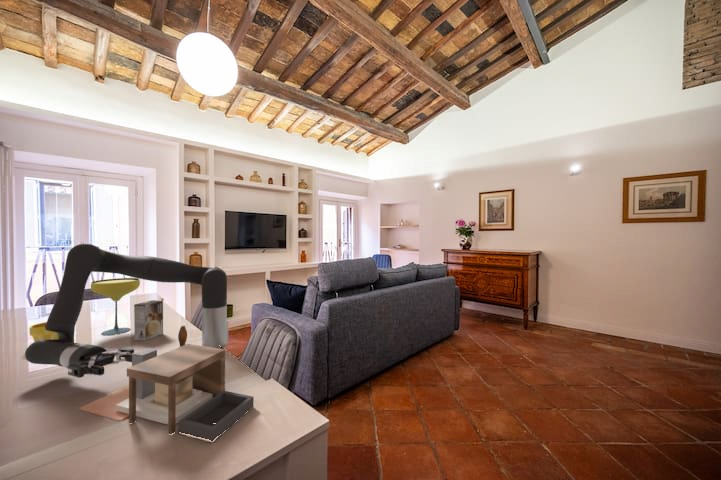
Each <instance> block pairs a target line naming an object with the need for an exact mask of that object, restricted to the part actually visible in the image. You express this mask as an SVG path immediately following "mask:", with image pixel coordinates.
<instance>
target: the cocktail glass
mask: <svg viewBox="0 0 721 480" xmlns="http://www.w3.org/2000/svg"><path fill="white" fill-rule="evenodd" d="M140 285H141V279H139V278H135V277H123V278H120V277H119V278H108V279H99V280H94V281H91V283H90V289H91V291H92V292H93V293H95V294H97V295H100V296H103V297H106V298H109V299H111V301H113V302H115V303H114V305H115V308H114V309H115V311H114V312H115V313H114V314H115V319H114V327H113V328H111V329H108V330H104V331H102V332H101V336H106V335H107V336H115V334H117V335H121V334H120V333H122V334H125V333H128V332H130V331H131V328H130V327H119V326H118V324H119V323H118V301H120V300H121V299H122V298H123V297H124V296H126V295H128V294H130V293H132V292H134V291H135V290H137V289H138V288H140ZM129 330H130V331H129ZM127 331H128V332H127Z"/></svg>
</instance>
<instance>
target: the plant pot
mask: <svg viewBox="0 0 721 480" xmlns="http://www.w3.org/2000/svg"><path fill="white" fill-rule="evenodd" d="M46 322H47V321H44V322H39V323H35V324H32V325H31V326H29V336H32V339H33V343H34V342H36V341H38V340H44V339H58V333H56V332H51V331H47V330H46V329H45V325H46Z"/></svg>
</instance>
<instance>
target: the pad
mask: <svg viewBox="0 0 721 480" xmlns="http://www.w3.org/2000/svg"><path fill="white" fill-rule="evenodd" d="M128 398H129V385H127V386H125V387H122V388H120V389H118V390H116V391H113V392H111V393H109V394H107V395H105V396H103V397H100V398H99V399H97V400H94V401H92V402H90V403H88V404H86V405H83V406H81V407H79V408H78V410H80V411H84V412H87V413H89V414H94V415H96V416H97V415H98V416H101V417H104V418H107V417H108V419H111V418H112V420H114V419H116V420H115V421H118V420H122V421H123V420H125V419H127V418H129V414H127V413H123V412H119V411H116V404H118V403H120V402H122V401H124V400H126V399H128Z"/></svg>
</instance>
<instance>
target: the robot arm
mask: <svg viewBox="0 0 721 480" xmlns="http://www.w3.org/2000/svg"><path fill="white" fill-rule="evenodd" d="M63 271H64V272H63V276H62V280H61V284H60V287H59V289H58V293H57V295H56V299H55V301H54V303H53V306H52V308H51V311H50V313H49V315H48V318H47V320H46V321H45V322H46V325H45V329H46V330H47V331H51V332H56V333H58V339H44V340H38V341H36V342H34V341H33V342H32V343H31V344H29V346H27V348H26V350H25V353H24V357H25V359H26V361H28V362H29V363H31V364H35V365H54V366H55V365H56V366H58V367H63V368H66V369H67V375H68V376H72V377H75V378H78V379H80V378H83V377H85V375H87V376H91V375H94V376H100V377H101V376H103V375H105V367H107V366H109V365H116V364H119V363H120V362H121V363H122V362H127V363H128V362H129V363H132V353H135V349H134V348H127V347H119V348H118V349H117V350H116V351H115V350H114V351H107V349H106V348H105V347H103V346H101V345H94V344H88V343H78V342H75V330H76V329H75V328H76V324H77V322H78V318H79V317H80V314H81V312H82V308H83V304H84V298H85V297H84V295H85V289H86V285H87V282H88V280H89V277H90V275H91V273H107V274H108V273H109V274H116V275H117V274H118V275H123V276H128V277H129V278H137V279H139V280H144V281H151V282H158V283H174V284H175V283H187V284H195V285H199V286H201V304H202V305H201V307H202V308H201V309H202V310H201V311H202V312H201V315H202V317H201V319H202V320H201V321H202V322H201V323H202V324H201V346H206V347H212V348H219V349H223V348H225V347H227V344H229V322H228V321H227V317H228V316H227V311H228V310H227V309H228V308H227V306H228V303H227V302H228V294H227V293H228V291H227V290H228V287H227V286H228V277H227V273H226V272H225V271H224V270H223V269H222V268H219V267H210V266H198V265H192V264H188V263H184V262H181V261H176V260H172V259H167V258H163V257H162V258H161V257H157V256H149V255H148V256H147V255H127V254H126V255H125V254H121V253H116V252H111V251H107V250H104V249H101V248H100V247H98V246H97V245H95V244H92V243H79V244H77V245H75V246H73V247H72V248H71V249H69V251H68V253H67V255H66V259H65V265H64V270H63ZM219 345H220V346H221V347H222V348H221V347H220V346H219ZM115 358H116V359H115Z"/></svg>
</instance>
